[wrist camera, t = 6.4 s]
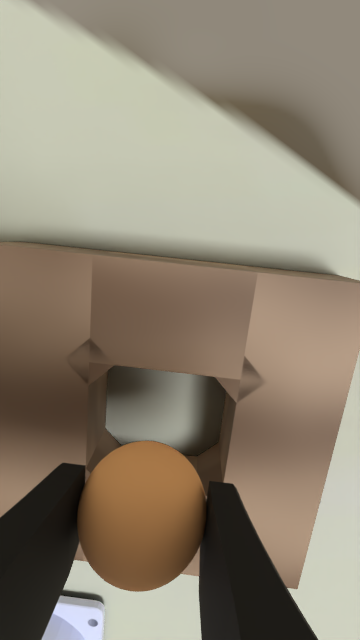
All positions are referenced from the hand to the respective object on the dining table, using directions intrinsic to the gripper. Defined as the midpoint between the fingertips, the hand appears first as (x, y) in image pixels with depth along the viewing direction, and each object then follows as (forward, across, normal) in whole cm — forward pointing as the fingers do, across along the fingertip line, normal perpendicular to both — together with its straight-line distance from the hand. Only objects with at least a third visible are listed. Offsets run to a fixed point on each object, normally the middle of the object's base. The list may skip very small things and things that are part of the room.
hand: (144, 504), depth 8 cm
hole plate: (+5, 0, 0) cm, 5 cm away
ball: (0, 0, 0) cm, 0 cm away
